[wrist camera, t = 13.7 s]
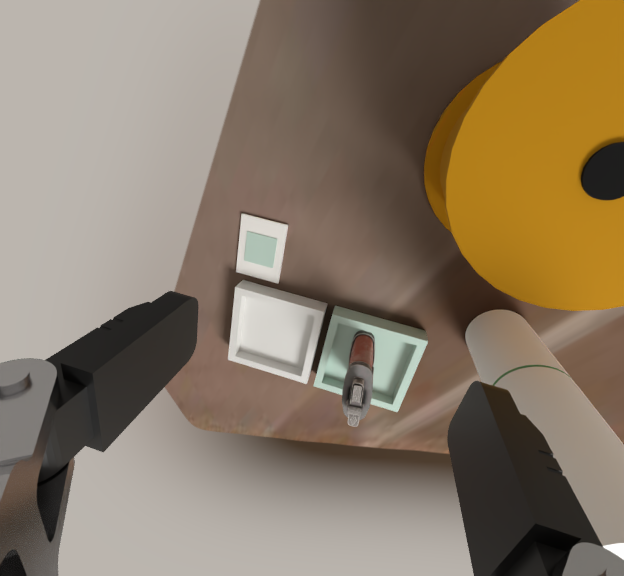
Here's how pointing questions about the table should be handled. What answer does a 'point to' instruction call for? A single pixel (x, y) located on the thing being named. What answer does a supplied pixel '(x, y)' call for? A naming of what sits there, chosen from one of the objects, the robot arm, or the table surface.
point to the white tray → (275, 330)
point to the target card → (261, 248)
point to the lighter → (359, 377)
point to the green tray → (388, 355)
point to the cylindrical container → (555, 416)
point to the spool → (541, 164)
